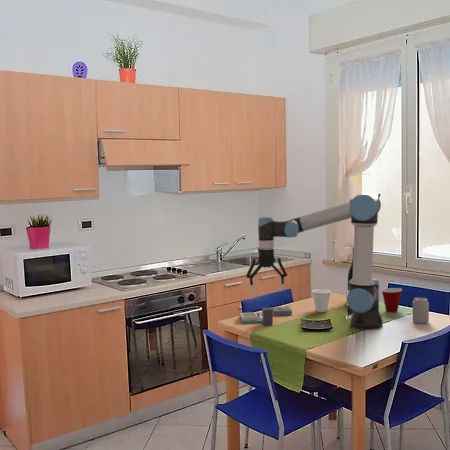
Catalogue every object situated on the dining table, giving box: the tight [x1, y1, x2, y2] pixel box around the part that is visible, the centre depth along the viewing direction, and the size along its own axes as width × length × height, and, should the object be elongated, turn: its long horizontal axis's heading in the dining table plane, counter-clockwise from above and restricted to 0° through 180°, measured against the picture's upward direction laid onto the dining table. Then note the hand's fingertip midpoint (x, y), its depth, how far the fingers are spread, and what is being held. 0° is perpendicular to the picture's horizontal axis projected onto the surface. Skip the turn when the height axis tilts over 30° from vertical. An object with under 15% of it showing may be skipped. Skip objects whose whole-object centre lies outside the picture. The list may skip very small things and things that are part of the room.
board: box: [239, 311, 262, 325], centre depth 279 cm, size 14×12×3 cm
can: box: [412, 297, 430, 325], centre depth 266 cm, size 8×8×12 cm
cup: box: [311, 288, 332, 313], centre depth 293 cm, size 10×10×11 cm
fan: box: [271, 305, 293, 317], centre depth 290 cm, size 9×9×3 cm
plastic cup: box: [380, 287, 403, 313], centre depth 289 cm, size 11×11×12 cm
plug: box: [261, 307, 274, 327], centre depth 270 cm, size 5×4×8 cm
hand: (266, 291), depth 268 cm, fingers open, 13 cm apart
